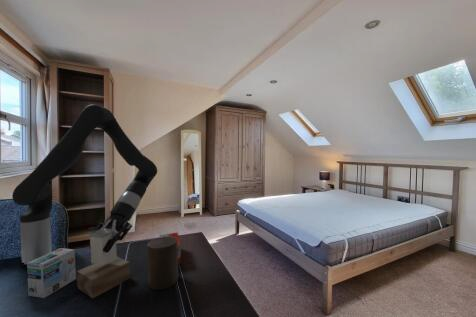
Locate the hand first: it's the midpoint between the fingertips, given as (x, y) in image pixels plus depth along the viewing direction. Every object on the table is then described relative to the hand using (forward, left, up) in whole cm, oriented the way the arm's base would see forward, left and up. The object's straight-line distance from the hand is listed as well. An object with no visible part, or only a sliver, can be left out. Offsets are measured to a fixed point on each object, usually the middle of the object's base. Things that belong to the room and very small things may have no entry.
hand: (98, 250), depth 70 cm
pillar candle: (+19, +8, -12) cm, 24 cm away
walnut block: (0, +2, -12) cm, 12 cm away
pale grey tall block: (0, +2, -4) cm, 5 cm away
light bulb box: (-15, -5, -12) cm, 20 cm away
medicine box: (+11, +23, -12) cm, 28 cm away
